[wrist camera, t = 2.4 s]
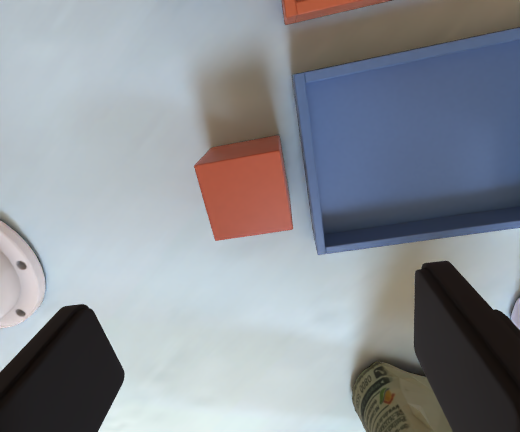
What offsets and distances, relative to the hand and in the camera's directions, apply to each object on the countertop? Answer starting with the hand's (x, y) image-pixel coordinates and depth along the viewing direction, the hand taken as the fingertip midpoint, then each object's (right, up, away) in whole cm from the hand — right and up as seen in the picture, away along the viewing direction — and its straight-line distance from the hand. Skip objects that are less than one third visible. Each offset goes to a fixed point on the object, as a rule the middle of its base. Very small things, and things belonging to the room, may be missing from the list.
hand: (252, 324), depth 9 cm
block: (0, +6, +14) cm, 15 cm away
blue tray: (+11, +8, +12) cm, 19 cm away
